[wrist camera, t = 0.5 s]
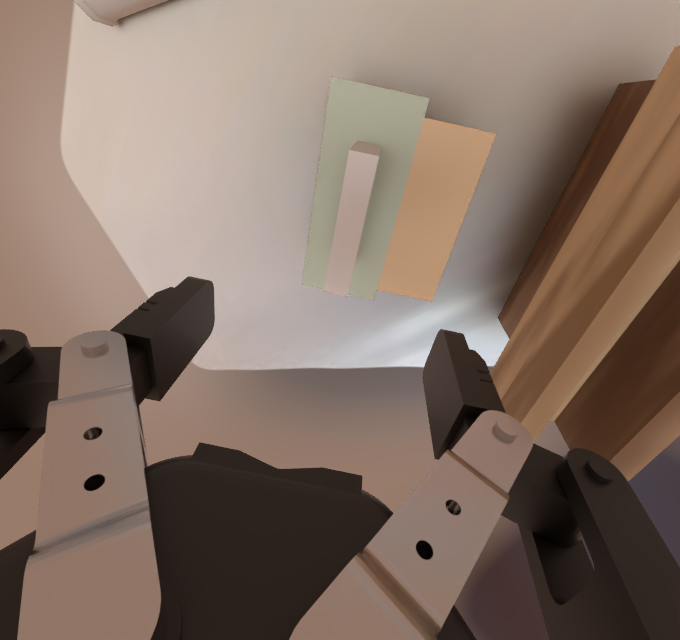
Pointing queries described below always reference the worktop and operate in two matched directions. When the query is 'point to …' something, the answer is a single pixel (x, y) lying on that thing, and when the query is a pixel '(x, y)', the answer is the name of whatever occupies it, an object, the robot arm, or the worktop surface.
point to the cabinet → (388, 193)
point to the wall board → (606, 290)
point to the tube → (113, 9)
